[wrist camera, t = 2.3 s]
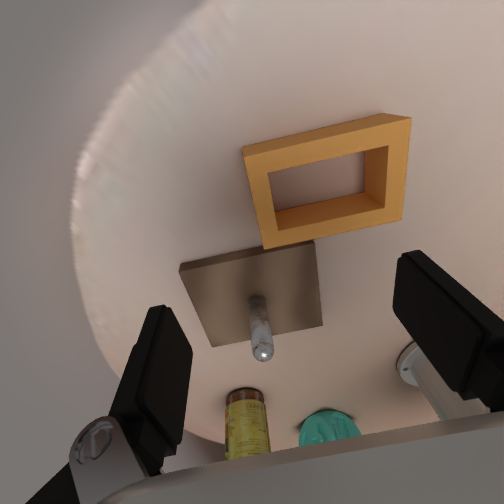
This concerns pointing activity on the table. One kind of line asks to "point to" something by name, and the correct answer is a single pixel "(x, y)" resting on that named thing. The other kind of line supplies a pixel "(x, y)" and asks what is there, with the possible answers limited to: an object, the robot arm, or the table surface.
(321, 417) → the decorative dice
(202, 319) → the plate
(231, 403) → the sauce bottle
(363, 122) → the link
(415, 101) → the table surface
